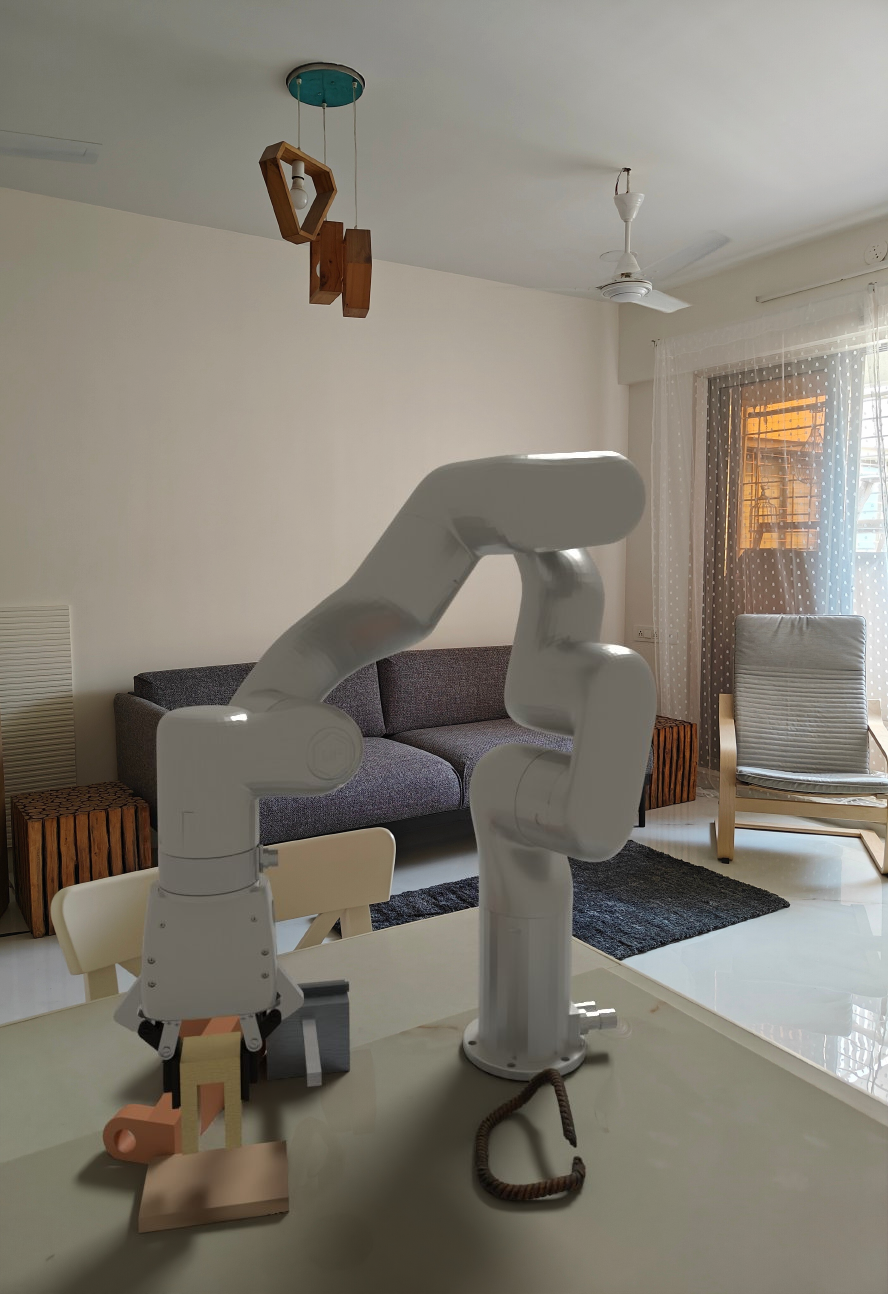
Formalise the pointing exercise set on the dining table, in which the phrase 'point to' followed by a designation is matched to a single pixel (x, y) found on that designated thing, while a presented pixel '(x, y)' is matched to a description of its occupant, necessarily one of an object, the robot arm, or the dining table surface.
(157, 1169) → the board
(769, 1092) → the dining table surface
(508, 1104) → the brown twisted loop
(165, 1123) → the crank
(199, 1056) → the yellow arch block
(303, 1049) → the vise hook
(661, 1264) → the dining table surface
